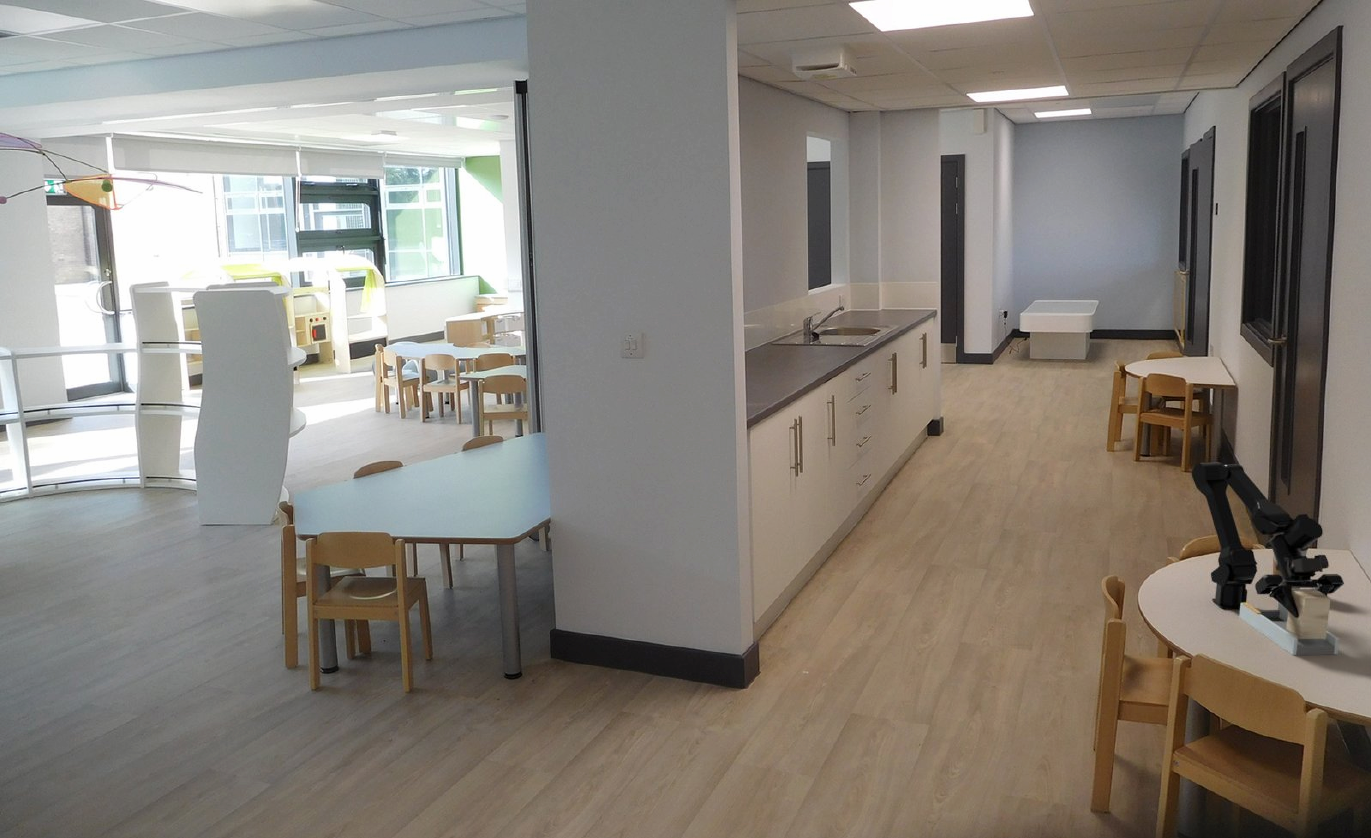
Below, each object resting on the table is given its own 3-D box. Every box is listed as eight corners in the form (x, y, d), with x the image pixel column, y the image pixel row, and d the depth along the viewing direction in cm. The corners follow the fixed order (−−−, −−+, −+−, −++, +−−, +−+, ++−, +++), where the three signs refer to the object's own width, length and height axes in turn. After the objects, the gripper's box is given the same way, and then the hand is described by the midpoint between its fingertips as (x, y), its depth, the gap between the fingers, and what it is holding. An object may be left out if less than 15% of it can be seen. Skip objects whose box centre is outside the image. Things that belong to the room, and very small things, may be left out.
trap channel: (1239, 617, 279) (1240, 601, 278) (1280, 617, 279) (1282, 600, 278) (1292, 655, 255) (1294, 637, 254) (1337, 654, 255) (1339, 636, 254)
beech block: (1286, 629, 262) (1290, 589, 260) (1310, 628, 262) (1315, 589, 260) (1300, 638, 256) (1305, 598, 254) (1325, 638, 256) (1330, 598, 254)
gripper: (1266, 542, 259) (1287, 603, 250) (1344, 541, 259) (1368, 602, 250) (1245, 563, 268) (1265, 622, 259) (1320, 563, 268) (1343, 622, 259)
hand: (1310, 617), depth 257 cm, fingers closed on beech block, 6 cm apart
